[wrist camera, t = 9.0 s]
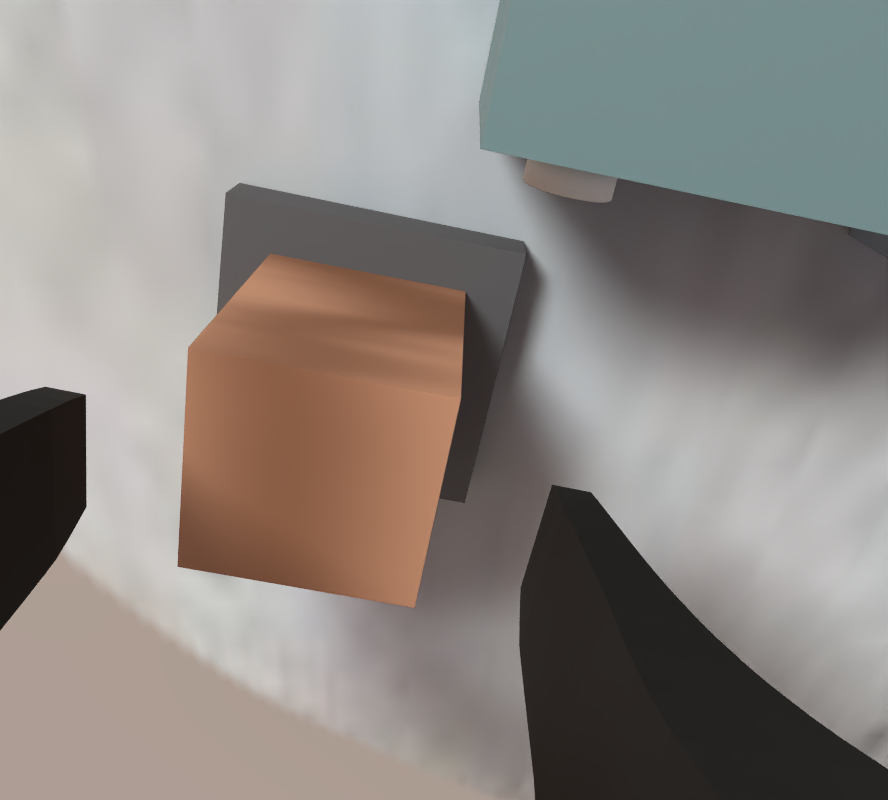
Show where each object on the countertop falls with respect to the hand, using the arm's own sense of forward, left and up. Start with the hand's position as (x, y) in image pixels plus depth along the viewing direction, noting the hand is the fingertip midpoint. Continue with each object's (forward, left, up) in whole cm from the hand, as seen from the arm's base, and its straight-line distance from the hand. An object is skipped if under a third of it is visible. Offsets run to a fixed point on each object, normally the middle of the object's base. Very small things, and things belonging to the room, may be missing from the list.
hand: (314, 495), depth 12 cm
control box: (-4, -7, -6) cm, 11 cm away
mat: (0, 0, -6) cm, 6 cm away
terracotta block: (0, 0, -5) cm, 5 cm away
